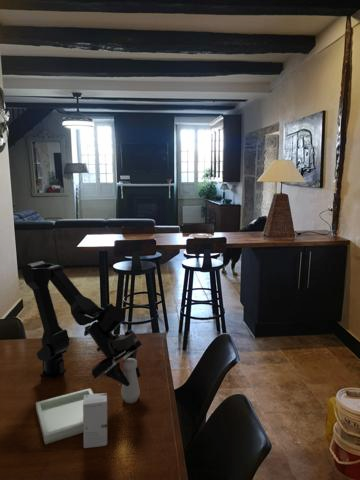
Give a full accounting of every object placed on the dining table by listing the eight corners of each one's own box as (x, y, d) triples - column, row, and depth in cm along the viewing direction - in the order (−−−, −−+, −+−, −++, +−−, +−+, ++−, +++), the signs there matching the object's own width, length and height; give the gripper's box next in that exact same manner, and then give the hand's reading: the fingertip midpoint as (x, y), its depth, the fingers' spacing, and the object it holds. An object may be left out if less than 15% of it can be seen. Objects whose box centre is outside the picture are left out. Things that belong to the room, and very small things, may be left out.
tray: (36, 410, 107) (35, 402, 107) (90, 395, 115) (90, 388, 114) (45, 444, 93) (44, 436, 93) (106, 424, 101) (105, 417, 100)
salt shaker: (136, 406, 109) (136, 365, 107) (118, 403, 110) (117, 363, 108) (142, 395, 115) (142, 356, 113) (125, 393, 116) (124, 354, 114)
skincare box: (83, 449, 92) (81, 405, 90) (83, 437, 96) (82, 394, 94) (108, 445, 93) (107, 401, 91) (107, 433, 97) (106, 391, 96)
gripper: (98, 336, 103) (131, 383, 99) (136, 315, 119) (166, 355, 115) (78, 356, 107) (108, 401, 104) (117, 333, 124) (145, 371, 120)
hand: (134, 381), depth 111 cm, fingers open, 5 cm apart
